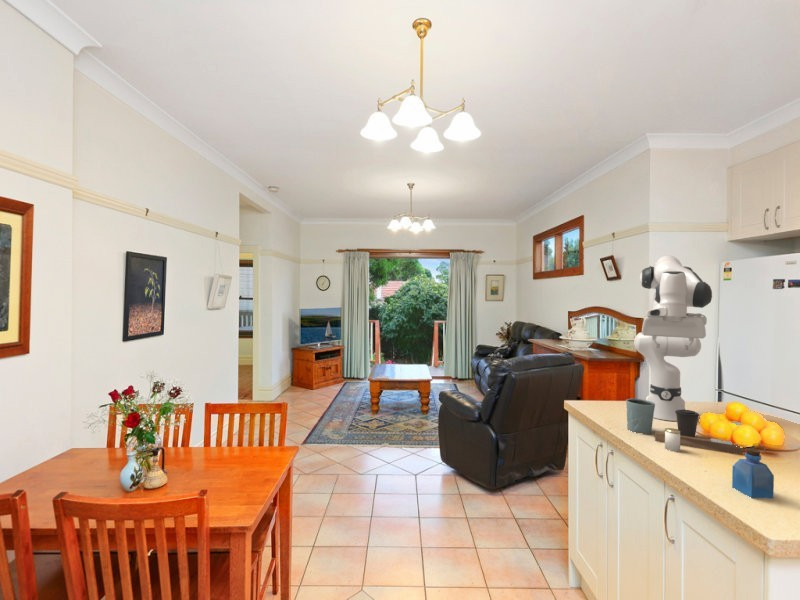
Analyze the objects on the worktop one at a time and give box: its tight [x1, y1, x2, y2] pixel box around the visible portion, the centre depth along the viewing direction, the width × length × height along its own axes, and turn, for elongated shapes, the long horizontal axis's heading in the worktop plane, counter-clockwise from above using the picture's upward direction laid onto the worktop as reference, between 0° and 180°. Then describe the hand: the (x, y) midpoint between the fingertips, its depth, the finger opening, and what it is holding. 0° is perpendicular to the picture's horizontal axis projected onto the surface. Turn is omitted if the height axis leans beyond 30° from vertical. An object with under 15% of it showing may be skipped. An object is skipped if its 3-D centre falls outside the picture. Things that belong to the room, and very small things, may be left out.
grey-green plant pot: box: [625, 398, 655, 435], centre depth 168 cm, size 10×10×12 cm
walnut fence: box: [654, 431, 744, 456], centre depth 151 cm, size 2×26×4 cm, turn 60°
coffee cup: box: [675, 409, 701, 438], centre depth 163 cm, size 8×8×10 cm
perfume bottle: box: [731, 447, 775, 499], centre depth 115 cm, size 6×6×12 cm
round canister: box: [664, 427, 681, 453], centre depth 148 cm, size 4×4×7 cm
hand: (672, 349), depth 156 cm, fingers open, 8 cm apart
